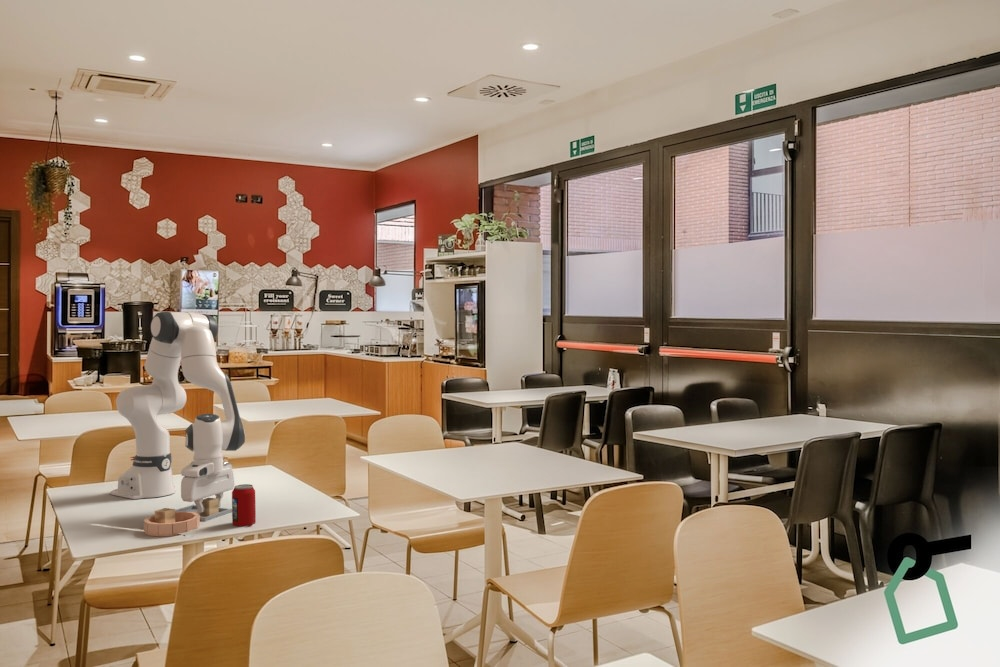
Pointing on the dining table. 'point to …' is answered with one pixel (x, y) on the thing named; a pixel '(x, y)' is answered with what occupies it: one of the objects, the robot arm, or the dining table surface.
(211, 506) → the block right
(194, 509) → the tray
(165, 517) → the block left
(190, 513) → the bowl
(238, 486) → the beverage can
